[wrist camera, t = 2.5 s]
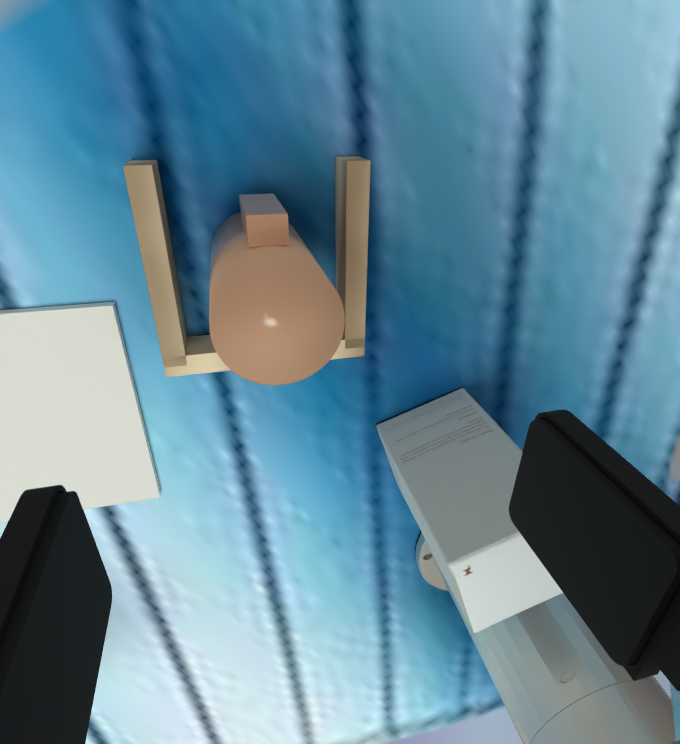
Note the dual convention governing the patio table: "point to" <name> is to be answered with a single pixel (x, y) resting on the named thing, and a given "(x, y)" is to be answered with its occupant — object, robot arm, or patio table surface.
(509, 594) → the supplement box
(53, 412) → the mat
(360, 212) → the cradle
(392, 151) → the patio table surface
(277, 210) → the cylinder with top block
